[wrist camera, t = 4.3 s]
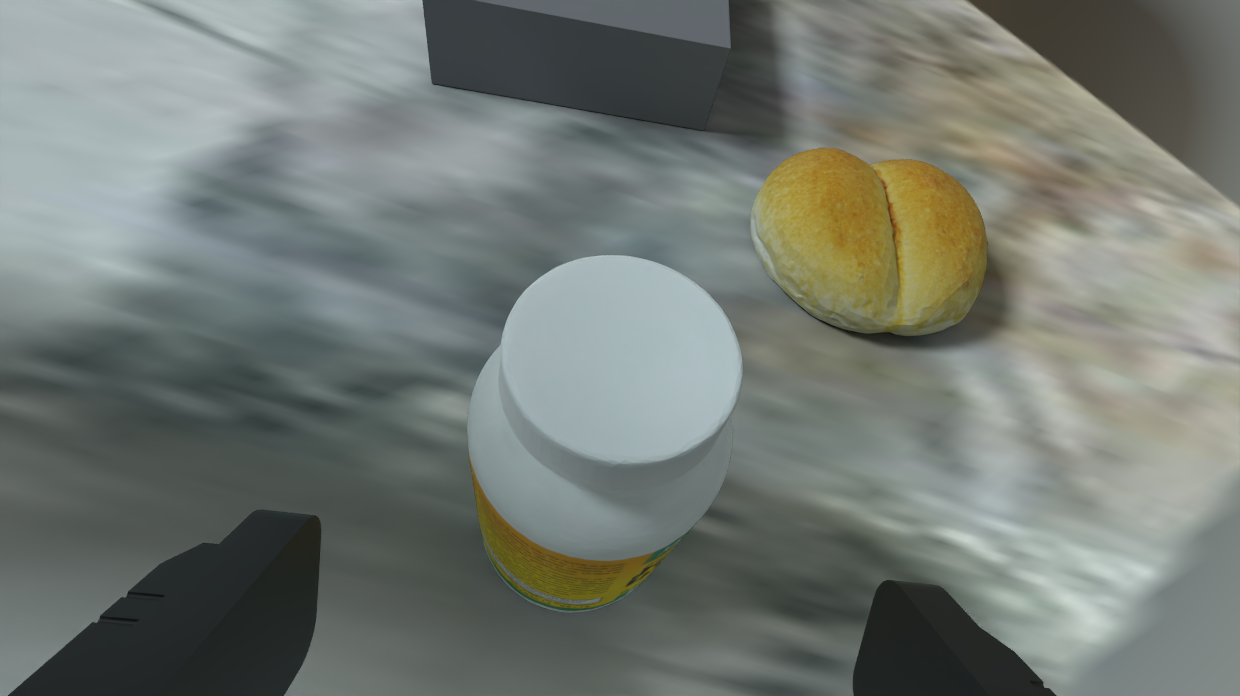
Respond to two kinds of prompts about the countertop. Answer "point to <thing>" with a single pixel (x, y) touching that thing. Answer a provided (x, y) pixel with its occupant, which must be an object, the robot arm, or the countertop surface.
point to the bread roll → (871, 242)
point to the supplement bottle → (601, 428)
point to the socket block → (586, 53)
